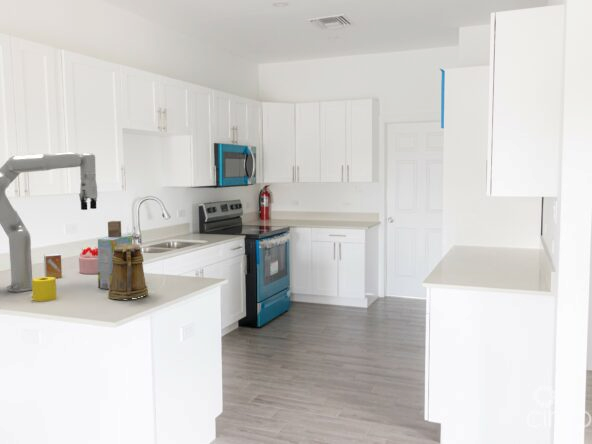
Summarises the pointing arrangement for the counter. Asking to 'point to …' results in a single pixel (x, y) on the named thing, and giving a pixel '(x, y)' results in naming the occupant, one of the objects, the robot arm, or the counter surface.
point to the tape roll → (44, 288)
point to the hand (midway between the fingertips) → (88, 209)
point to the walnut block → (114, 229)
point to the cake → (88, 261)
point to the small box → (53, 265)
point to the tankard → (127, 273)
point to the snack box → (108, 258)
